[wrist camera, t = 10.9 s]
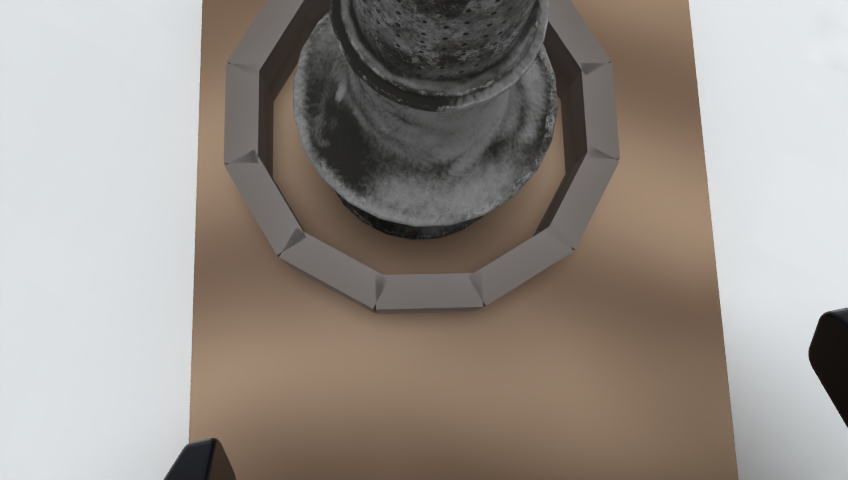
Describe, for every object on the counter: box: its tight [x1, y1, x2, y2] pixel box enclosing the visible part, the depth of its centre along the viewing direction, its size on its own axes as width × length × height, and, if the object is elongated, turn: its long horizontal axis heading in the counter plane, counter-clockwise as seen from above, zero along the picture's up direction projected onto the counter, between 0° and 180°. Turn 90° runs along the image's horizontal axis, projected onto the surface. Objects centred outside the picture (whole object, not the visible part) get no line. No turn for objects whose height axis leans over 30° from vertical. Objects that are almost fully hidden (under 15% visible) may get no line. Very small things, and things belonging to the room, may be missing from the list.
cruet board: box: [189, 0, 738, 480], centre depth 17 cm, size 18×14×3 cm
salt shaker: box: [293, 0, 558, 240], centre depth 12 cm, size 6×6×12 cm
